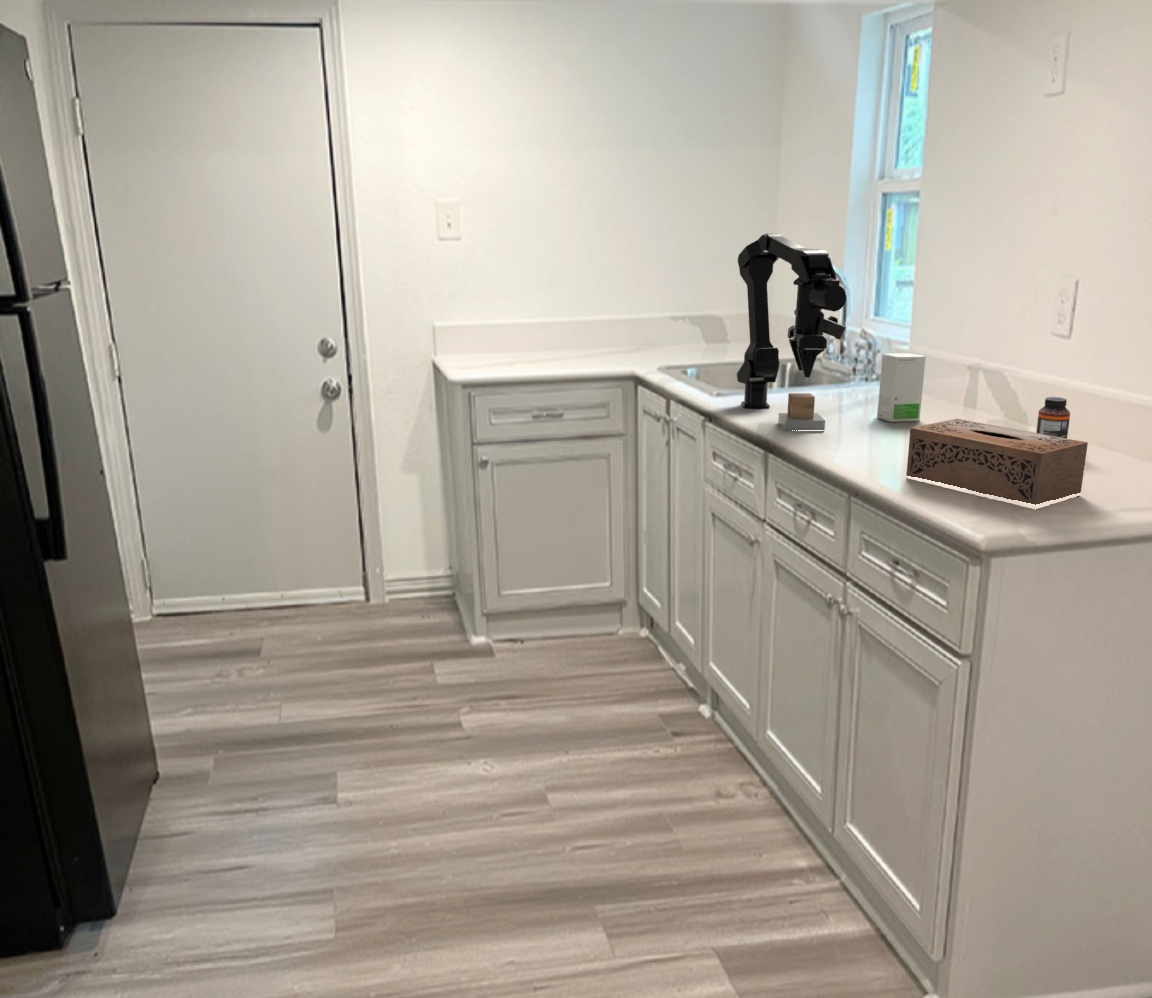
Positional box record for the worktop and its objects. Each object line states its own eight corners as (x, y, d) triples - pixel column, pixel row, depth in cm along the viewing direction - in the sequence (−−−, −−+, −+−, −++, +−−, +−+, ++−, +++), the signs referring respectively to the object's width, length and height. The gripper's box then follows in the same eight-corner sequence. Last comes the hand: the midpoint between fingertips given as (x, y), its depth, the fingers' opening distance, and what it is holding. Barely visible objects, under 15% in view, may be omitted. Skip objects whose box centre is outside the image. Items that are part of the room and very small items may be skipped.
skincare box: (890, 422, 240) (895, 357, 236) (875, 417, 246) (880, 353, 242) (921, 421, 242) (927, 355, 238) (905, 415, 249) (911, 352, 244)
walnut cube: (787, 414, 237) (788, 393, 236) (808, 414, 237) (810, 393, 236) (791, 418, 233) (792, 397, 231) (813, 418, 233) (814, 397, 231)
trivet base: (778, 425, 240) (778, 413, 239) (816, 425, 240) (817, 413, 239) (784, 433, 232) (785, 420, 231) (824, 433, 231) (825, 420, 231)
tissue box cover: (1080, 497, 179) (1087, 442, 176) (1034, 511, 171) (1042, 453, 168) (951, 468, 199) (956, 418, 196) (905, 480, 191) (910, 427, 188)
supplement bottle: (1038, 447, 215) (1045, 394, 212) (1068, 451, 211) (1075, 398, 208) (1030, 452, 211) (1036, 398, 208) (1060, 457, 207) (1067, 402, 204)
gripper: (852, 311, 224) (846, 381, 229) (836, 302, 242) (831, 367, 247) (801, 311, 225) (796, 381, 230) (789, 301, 243) (785, 366, 247)
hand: (804, 373), depth 238 cm, fingers open, 9 cm apart
